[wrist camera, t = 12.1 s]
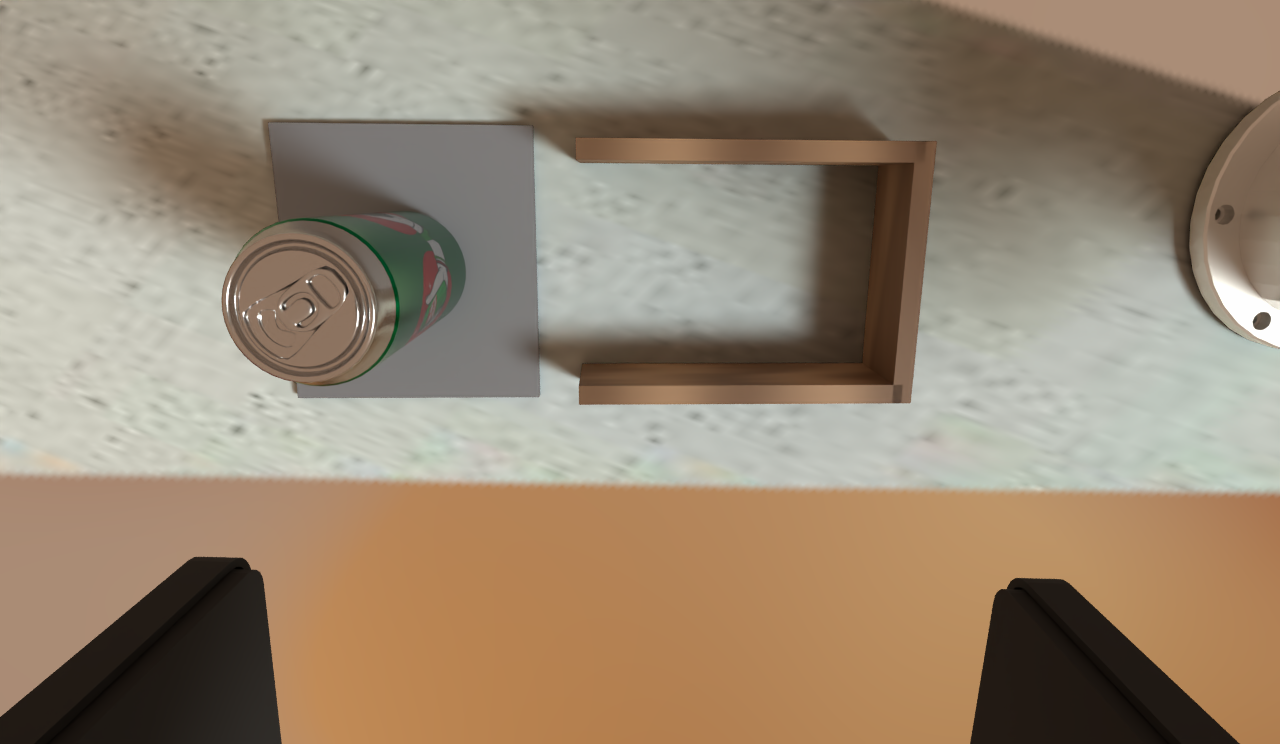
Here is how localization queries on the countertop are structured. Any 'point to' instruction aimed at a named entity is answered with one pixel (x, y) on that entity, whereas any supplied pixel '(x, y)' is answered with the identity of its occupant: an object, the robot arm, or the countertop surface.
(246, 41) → the countertop surface
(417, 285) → the soda can
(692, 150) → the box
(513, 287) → the mat
